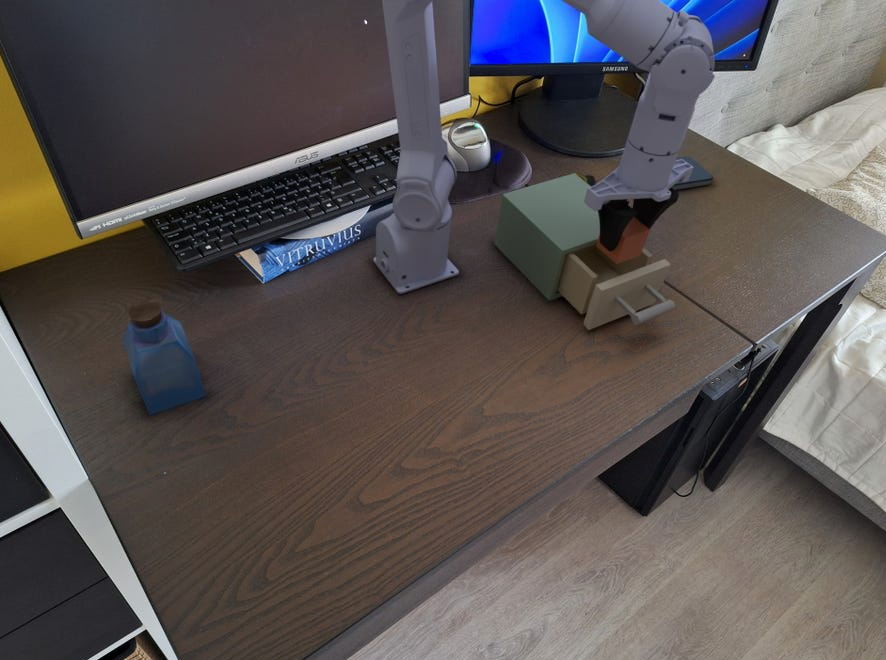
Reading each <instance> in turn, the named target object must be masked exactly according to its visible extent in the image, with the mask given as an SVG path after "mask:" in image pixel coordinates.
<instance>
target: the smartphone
mask: <svg viewBox="0 0 886 660" xmlns="http://www.w3.org/2000/svg"><path fill="white" fill-rule="evenodd" d="M680 159H683V160H684V161H686V162H687V163H689V164H690V165H691V166H693V167H694V168H693V170H692V173H691V175H690V178H689V180H688V181H687V182H684V183H682V182H680V181H677V182H676V183H675V184H674V185H673V186H672V187H671V188H673V189H674V190H675V191H677V190H684V189H688V188H689V189H690V188H695V187H702V186H707V185H711V184H712V182H713V180H714V176H712V174H711V173H710V172H709V171H708V170H706V169H705V168H704V167H703V166H702V165H701V164H700V163H698V161H696V160H695V159H693V158H692V157H690V156H687V155H685V156H679V157H678V156H677V159H676V160H680Z"/></svg>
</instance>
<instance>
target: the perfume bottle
mask: <svg viewBox="0 0 886 660" xmlns="http://www.w3.org/2000/svg"><path fill="white" fill-rule="evenodd" d="M127 314H128V317H129V318H130V319H129V324H130V325H129V326H128V327H127V329H126V331H125V333H124V335H123V337H122V342H123V345H124V348H125V351H126V355H127V358H128V361H129V364H130V368H131V371H132V375H133V377H134V381H135V382H136V385H137V387H138V389H139V393H140V395H141V397H142V399H143V402H144V404H145V407H146V409H147V411H148V414H149V415H150V416H151V415H154V414H157V413H159V412H163V411H166V410H169V409H171V408H175V407H178V406H181V405H184V404H186V403H190V402H192V401H195V400H199V399H202V398H205V397H207V394H206V391H205V388H204V384H203V381H202V378H201V374H200V370H199V367H198V363H197V361H196V358H195V355H194V352H193V351H192V347H191V345H190V343H189V340H188V338H187V335H186V333H185V331H184V328H183V325H182V322H181V321H179V320H178V319H175V318H173V317H172V316H170V315H166V313H165V311H163V309H162V305H161V304H160V302H159V301H157V300H155V299H149V298H148V299H147V298H146V299H140V300H138V301H136V302H134V303H133V304H131V305H130V306H129V308H128V310H127Z"/></svg>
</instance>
